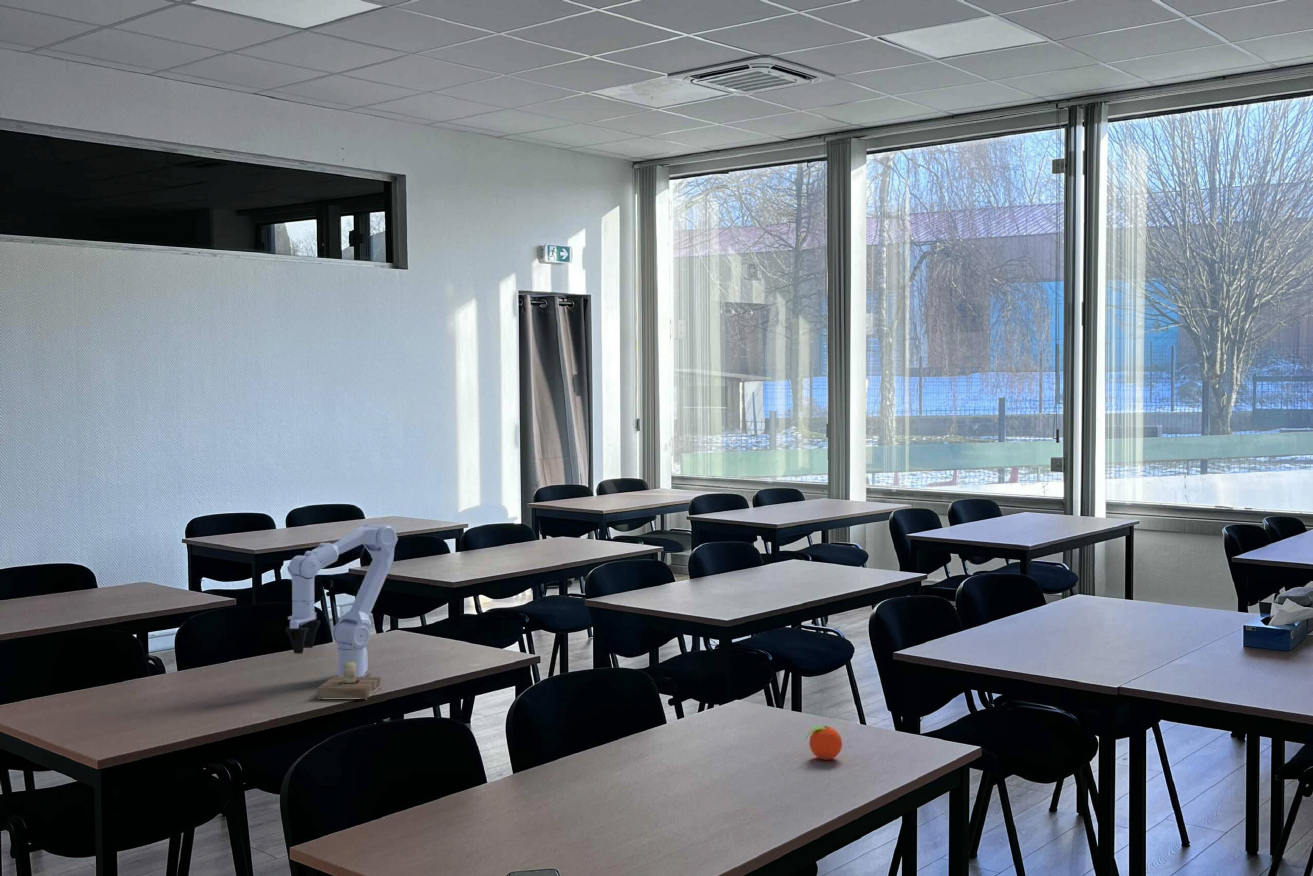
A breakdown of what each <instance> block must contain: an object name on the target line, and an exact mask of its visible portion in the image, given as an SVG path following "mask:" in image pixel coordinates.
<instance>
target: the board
mask: <svg viewBox="0 0 1313 876" xmlns="http://www.w3.org/2000/svg"><path fill="white" fill-rule="evenodd" d="M381 678H382V677H381V676H367V677H356V684H344V677H337V676H332V677H331V678H330V679H329V678H328V680H326V681H325V682H324V683H322V684H321V685H320V686H318V687H317V688H316V699H317V698H361V699H365V700H364V701H367V700H368V699H367V697H368V696H369V694H371V693H372V692H373V691H374V690H375V689H376V688H377V687H379V686H380V684H381V685H382V679H381Z"/></svg>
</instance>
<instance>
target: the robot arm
mask: <svg viewBox="0 0 1313 876" xmlns="http://www.w3.org/2000/svg"><path fill="white" fill-rule="evenodd" d="M398 540H399V538H398V535H397V533H396V530H395V528H394V527H392V526H391V525H381V524H373V523H365V524H364V525H363V526H358V527H357V529H356V530H354V531H352V532H351V533H349V534H348V535H346V536H344V537H343V538H341V539H339V540H338V541H336V542H334V543H331V542H321V543H318V545H319V546H317V547H316V548H314V549H312V550H306V551H305V553H304V554H303V555H295V556H294V557H292V558H291V560H290V561H289V564H288V566H287V571H288V574H289V575H290V578H291V587H292V588H291V591H292V593H291V597H292V598H291V601H292V602H291V604H292V607H291V609H292V613H291V615H290V616H287V620H290V621H289V626H287V627H285V632H286V634H287V635H288V638H289V640H290V642H291V645H292V650H293V654H294V655H295V654H297V655H301V654H303V653H304V649H313V647H314V643H315V639H316V636H317V635H316V634H317V632H318V629H319V627H320V625H321V620H320V619H319V620H317V612H316V611H315V577H316V576H317V575H318V573H319V571H320V570H322V569H324V568H326V567H327V566H330V565H331V564H334V563H336V562H337V561H338V559H339V555H341V554H344V553H345V552H348V551H350V550H352V549H354V548H357V547H360V546H361V545H363V546H364V548H365V549H366V550H367V552H368V553H369V555H370V556H371V559H372V561H371V562H370V565H369V567H368V569H367V572H366V573H365V576H364V579H363V580H362V583H361V585H360V588H359V589H358V591H357V594H356V596H355V598H354V600H353V603H352V605H351V607H350V609H349V610H348V611H347V612H345V613H344V614H342V616H341V617H340V620H339V621H338V622H337V623H336V624H335V625H334V626H333V629H332V635H331V636H332V638H333V640H334V642H335V643H336V646H337V673H338V675H337V676H339V677H344V663H347V662H355V663H356V677H359V676H363V675H364V674H365V672H366V671H367V670H368V671H369V668H368V663H369V662H368V660H369V659H368V649H367V647H366V645H367V644H368V642H369V641H370V635H371V628H372V622H371V619H370V615H371V613H372V611H373V608H374V606H375V603H376V601H377V599H378V596H379V595H380V592H381V589H382V587H383V586H384V583H385V581H386V578H387V576H388V573H389V571H390V569H391V568H392V565H393V562H394V558H395V547H396V544H397V542H398Z"/></svg>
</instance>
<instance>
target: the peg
mask: <svg viewBox="0 0 1313 876" xmlns="http://www.w3.org/2000/svg"><path fill="white" fill-rule="evenodd" d="M344 684H356V663H355V662H347V663H344Z"/></svg>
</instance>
